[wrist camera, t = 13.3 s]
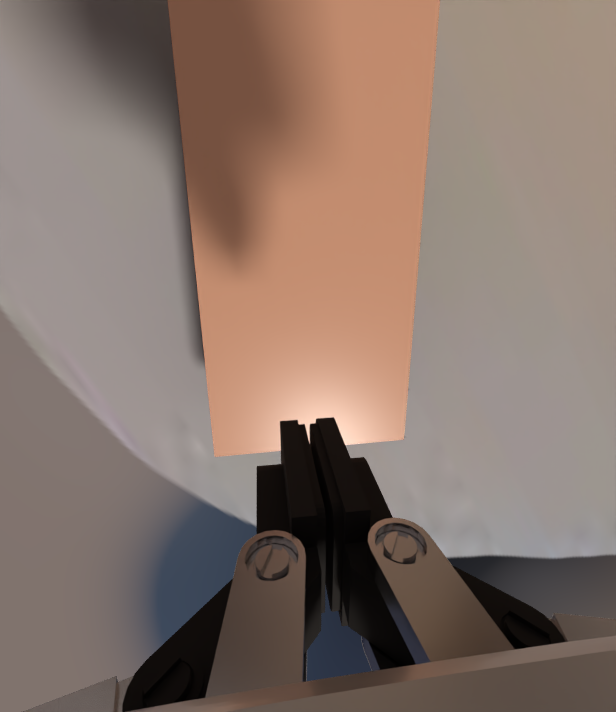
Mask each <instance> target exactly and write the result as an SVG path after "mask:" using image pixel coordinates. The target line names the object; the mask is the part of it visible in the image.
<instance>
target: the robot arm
mask: <svg viewBox="0 0 616 712" xmlns="http://www.w3.org/2000/svg"><path fill="white" fill-rule="evenodd" d="M280 441H281V464H278V465H266V466H257V535H255V536H254V537H252V538H251V539H249V540H248V541H247V542H246V543H245V545H244V546H243V547H242V548H241V551H240V553H239V556H238V559H237V564H236V568H235V572H234V577H233V579H232V580H231V581H230V582H229V583H228V584H227V585H225V586H224V587H223V588H222V589H221V590H220V591H219V592H218V593H217V594H216V595H215V596H214V597H213V598H212V599H211V600H210V601H209V602H207V604H205V605H204V606H203V607H202V608H201V609H200V610H199V611H198V612H197V613H196V614H195V615H194V616H193V617H192V618H191V619H190V620H189V621H188V622H186V623H185V624H184V625H183V626H182V627H181V628H180V629H179V630H178V631H177V632H176V633H175V634H174V635H173V636H172V637H170V638H169V639H168V640H167V641H166V642H165V643H164V644H163V645H162V646H161V647H160V648H159V649H158V650H157V651H156V652H155V653H154V654H152V656H150V657H149V658H148V659H147V660H146V661H145V663H144V664H143V665H142V666H141V667H140V668H139V669H138V671H137V672H136V673H135V675H134V676H132V677H130V678H127V679H125V680H122V681H119V682H118V680H117V676H115V677H112V678H110V679H107V680H104V681H102V682H99V683H97V684H94V685H91V686H89V687H87V688H84V689H81V690H78V691H76V692H73V693H71V694H68V695H65V696H63V697H60V698H58V699H55V700H52V701H50V702H47V703H44V704H42V705H39V706H36V707H34V708H32V709H29V710H26V711H23V712H616V619H607V618H597V617H587V616H578V615H568V614H559V613H553V616H552V619H550V618H547V617H546V616H545V615H543V614H542V613H540V612H539V611H537V610H536V609H534V608H533V607H531V606H529V605H527V604H525V603H524V602H521V601H520V600H518V599H516V598H514V597H512V596H510V595H508V594H506V593H504V592H502V591H501V590H499V589H497V588H495V587H493V586H491V585H489V584H487V583H485V582H483V581H481V580H479V579H477V578H476V577H474V576H472V575H470V574H468V573H466V572H464V571H462V570H460V569H458V568H456V567H454V566H452V565H451V564H450V562H449V561H448V560H447V558H446V557H445V555H444V554H443V553H442V551H441V550H440V549H439V547H438V546H437V545H436V543H435V542H434V541H433V539H432V538H431V537H430V535H429V534H428V533H427V532H426V531H425V530H424V529H423V528H422V527H420V526H418V525H417V524H415V523H414V522H411V521H408V520H405V519H400V518H393V517H392V515H391V513H390V511H389V508H388V506H387V504H386V502H385V500H384V498H383V495H382V493H381V491H380V489H379V487H378V485H377V482H376V480H375V478H374V476H373V474H372V471H371V469H370V467H369V465H368V463H367V461H366V459H365V458H364V457H361V458H350V456H349V453H348V451H347V448H346V446H345V443H344V441H343V438H342V436H341V433H340V431H339V428H338V426H337V423H336V421H335V418H334V417H331V418H316V423H312V424H310V444H309V440H308V435H307V431H306V427H305V424H298V420H288V421H280ZM325 584H326V589H327V594H328V599H329V605H330V609H331V611H339V615H340V620H341V625H342V626H347V625H348V626H349V627H350V628H351V629H353V630H354V631H355V632H357V633H358V634H359V635H361V636H362V644H363V648H364V651H365V654H366V657H367V659H368V662H369V664H370V667H371V669H372V671H371V672H365V673H358V674H352V675H346V676H339V677H333V678H326V679H320V680H313V681H307V682H306V679H307V649H308V648H309V647H310V645H311V644H312V642H313V641H314V640H315V638H316V637H317V635H318V634H319V632H320V631H321V613H324V612H325Z"/></svg>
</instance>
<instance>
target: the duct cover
mask: <svg viewBox="0 0 616 712" xmlns="http://www.w3.org/2000/svg"><path fill="white" fill-rule="evenodd" d="M439 6H440V0H168V9H169V19H170V29H171V38H172V48H173V58H174V67H175V77H176V87H177V96H178V106H179V116H180V125H181V135H182V145H183V154H184V164H185V174H186V183H187V193H188V203H189V213H190V222H191V232H192V242H193V251H194V261H195V271H196V280H197V290H198V300H199V309H200V319H201V329H202V338H203V348H204V358H205V367H206V377H207V387H208V397H209V406H210V416H211V426H212V435H213V445H214V455H215V457H218V456H229V455H240V454H251V453H262V452H273V451H281V441H280V421H288V420H298V424H305V427H306V431H307V435H308V440H309V444H310V424H312V423H316V418H331V417H334V418H335V421H336V423H337V426H338V428H339V431H340V433H341V436H342V438H343V441H344V443H345V445H350V444H361V443H372V442H383V441H394V440H404V432H405V420H406V407H407V395H408V383H409V371H410V359H411V347H412V334H413V322H414V310H415V298H416V286H417V274H418V261H419V249H420V237H421V225H422V213H423V201H424V188H425V176H426V164H427V152H428V140H429V128H430V115H431V103H432V91H433V79H434V67H435V55H436V43H437V30H438V18H439Z"/></svg>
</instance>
